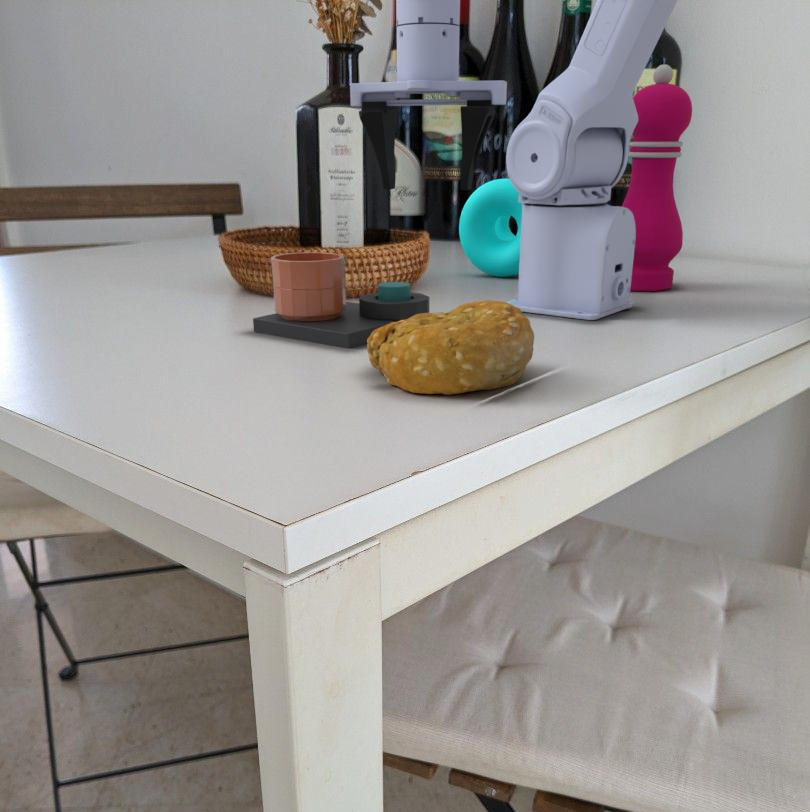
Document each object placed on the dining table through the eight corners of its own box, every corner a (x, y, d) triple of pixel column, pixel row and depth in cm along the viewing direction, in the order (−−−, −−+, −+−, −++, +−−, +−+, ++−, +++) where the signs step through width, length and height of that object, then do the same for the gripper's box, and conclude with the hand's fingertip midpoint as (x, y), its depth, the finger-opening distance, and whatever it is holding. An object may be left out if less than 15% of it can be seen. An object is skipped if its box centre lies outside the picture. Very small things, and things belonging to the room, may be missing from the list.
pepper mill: (685, 284, 89) (714, 64, 80) (664, 294, 83) (692, 60, 75) (618, 279, 92) (639, 68, 84) (593, 288, 87) (613, 63, 78)
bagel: (428, 352, 62) (428, 284, 60) (561, 377, 55) (567, 301, 53) (332, 380, 55) (329, 304, 53) (473, 412, 48) (475, 327, 46)
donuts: (565, 268, 100) (572, 175, 95) (541, 281, 91) (547, 180, 87) (484, 264, 103) (487, 174, 99) (454, 275, 95) (456, 178, 91)
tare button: (417, 300, 69) (417, 283, 68) (397, 305, 67) (397, 287, 66) (391, 297, 70) (391, 280, 70) (371, 302, 68) (371, 284, 68)
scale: (441, 327, 70) (442, 295, 69) (357, 351, 62) (356, 316, 61) (342, 312, 76) (341, 283, 75) (253, 333, 68) (251, 301, 67)
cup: (352, 309, 71) (350, 252, 69) (336, 323, 66) (333, 262, 64) (287, 308, 71) (283, 251, 69) (266, 321, 66) (261, 260, 64)
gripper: (337, 25, 75) (343, 191, 81) (501, 19, 72) (494, 192, 78) (361, 33, 82) (364, 187, 87) (512, 28, 78) (505, 188, 84)
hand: (427, 189), depth 83 cm, fingers open, 7 cm apart
